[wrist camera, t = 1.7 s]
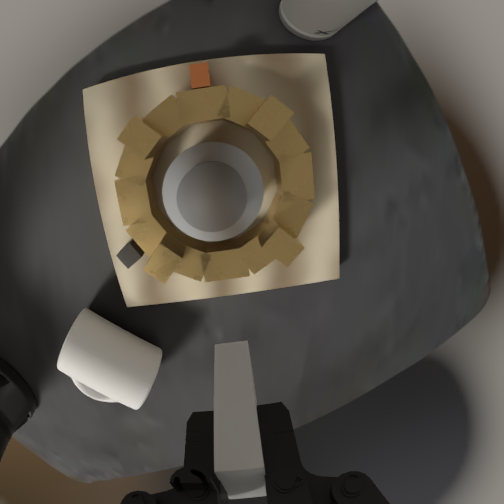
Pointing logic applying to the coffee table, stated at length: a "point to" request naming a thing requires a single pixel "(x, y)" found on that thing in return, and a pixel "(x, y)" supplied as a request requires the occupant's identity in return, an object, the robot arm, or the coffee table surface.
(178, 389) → the coffee table surface
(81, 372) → the mug
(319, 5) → the travel mug
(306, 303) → the coffee table surface
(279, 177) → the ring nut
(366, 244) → the coffee table surface
